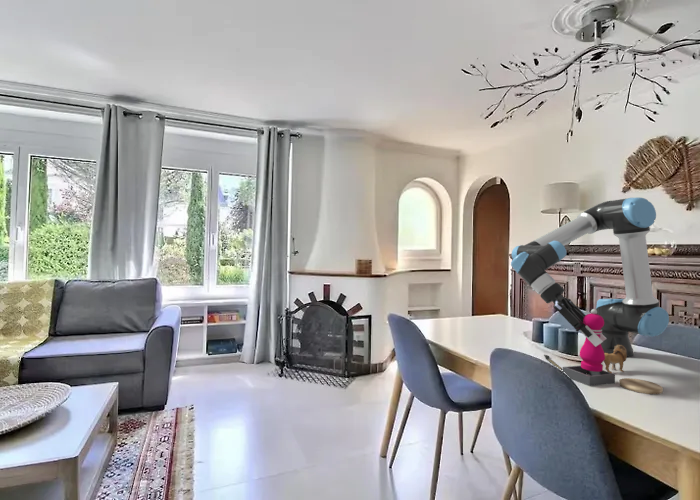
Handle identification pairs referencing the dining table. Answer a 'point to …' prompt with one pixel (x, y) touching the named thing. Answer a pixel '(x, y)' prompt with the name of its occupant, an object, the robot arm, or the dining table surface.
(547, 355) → the paintbrush
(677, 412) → the dining table surface
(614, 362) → the lion figurine
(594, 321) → the pepper mill
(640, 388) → the cork coaster
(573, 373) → the dark gray square tray
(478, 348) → the dining table surface
